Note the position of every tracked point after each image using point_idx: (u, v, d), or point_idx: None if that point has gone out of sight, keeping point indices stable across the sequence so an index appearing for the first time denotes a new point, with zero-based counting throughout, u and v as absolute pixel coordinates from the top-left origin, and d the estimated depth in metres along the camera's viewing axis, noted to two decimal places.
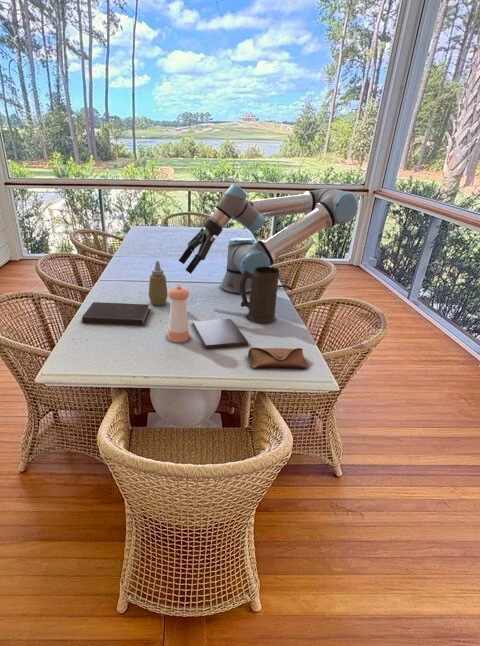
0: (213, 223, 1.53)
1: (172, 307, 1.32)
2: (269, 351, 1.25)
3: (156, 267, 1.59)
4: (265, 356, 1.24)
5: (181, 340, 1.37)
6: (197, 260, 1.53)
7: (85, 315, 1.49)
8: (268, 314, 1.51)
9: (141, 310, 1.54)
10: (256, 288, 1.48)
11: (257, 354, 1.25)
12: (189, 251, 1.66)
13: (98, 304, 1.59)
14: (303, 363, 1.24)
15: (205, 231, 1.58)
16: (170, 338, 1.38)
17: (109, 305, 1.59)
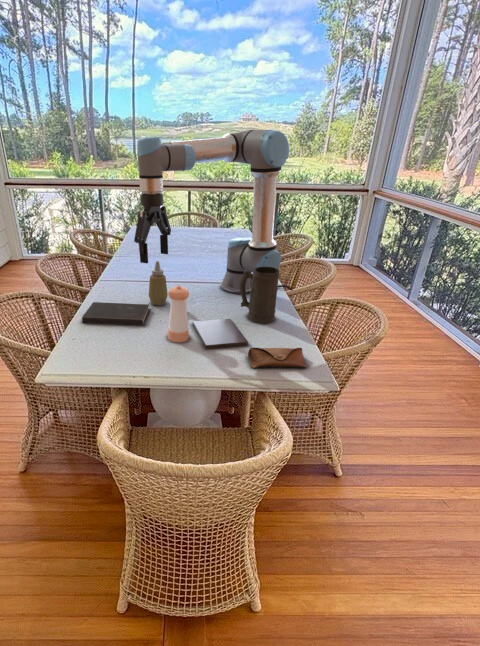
0: (141, 196, 1.26)
1: (172, 307, 1.32)
2: (269, 351, 1.25)
3: (156, 267, 1.59)
4: (265, 356, 1.24)
5: (181, 340, 1.37)
6: (140, 246, 1.29)
7: (85, 315, 1.49)
8: (268, 314, 1.51)
9: (141, 310, 1.54)
10: (257, 288, 1.48)
11: (257, 353, 1.25)
12: (163, 237, 1.41)
13: (98, 304, 1.59)
14: (303, 363, 1.24)
15: None
16: (170, 338, 1.38)
17: (109, 305, 1.59)
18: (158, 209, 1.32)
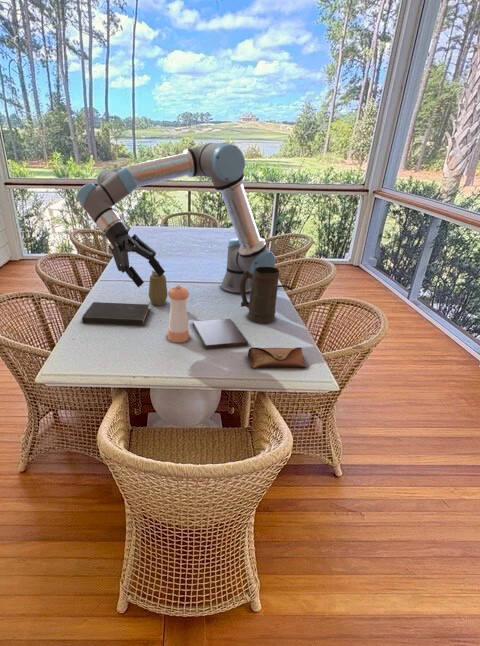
0: (106, 235, 1.31)
1: (172, 307, 1.32)
2: (269, 351, 1.25)
3: None
4: (265, 356, 1.25)
5: (181, 340, 1.37)
6: (127, 271, 1.27)
7: (85, 315, 1.49)
8: (268, 314, 1.51)
9: (141, 310, 1.54)
10: (257, 288, 1.48)
11: (257, 353, 1.25)
12: (151, 261, 1.38)
13: (98, 304, 1.59)
14: (303, 362, 1.24)
15: None
16: (170, 338, 1.38)
17: (109, 305, 1.59)
18: (128, 237, 1.34)
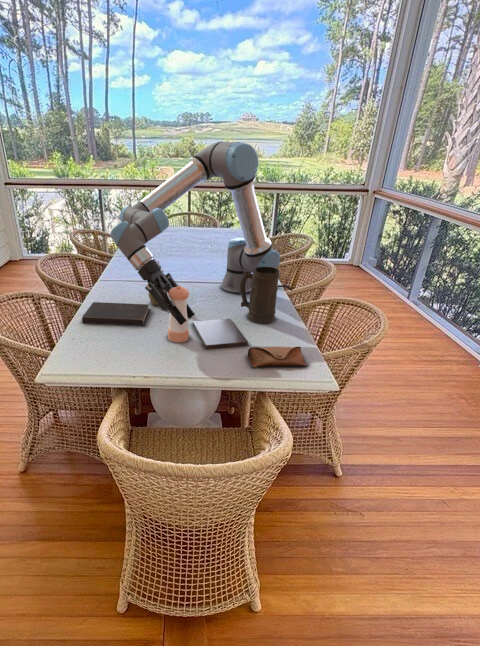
0: (139, 272, 1.31)
1: None
2: (269, 350, 1.25)
3: None
4: (265, 355, 1.25)
5: (181, 340, 1.37)
6: (170, 310, 1.31)
7: (85, 315, 1.49)
8: (268, 314, 1.51)
9: (141, 310, 1.54)
10: (256, 288, 1.48)
11: (257, 353, 1.25)
12: None
13: (98, 304, 1.59)
14: (303, 361, 1.25)
15: None
16: (170, 338, 1.38)
17: (109, 305, 1.59)
18: (161, 274, 1.34)
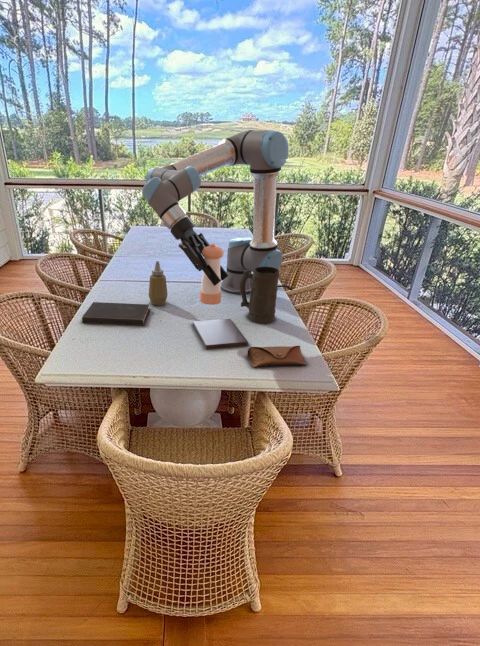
0: (171, 230, 1.27)
1: None
2: (269, 350, 1.25)
3: (156, 267, 1.59)
4: (265, 355, 1.25)
5: (214, 302, 1.32)
6: (204, 270, 1.26)
7: (85, 315, 1.49)
8: (268, 314, 1.51)
9: (141, 310, 1.54)
10: (256, 288, 1.48)
11: (257, 353, 1.26)
12: None
13: (98, 304, 1.59)
14: (302, 360, 1.25)
15: None
16: (202, 300, 1.33)
17: (109, 305, 1.59)
18: (193, 233, 1.30)
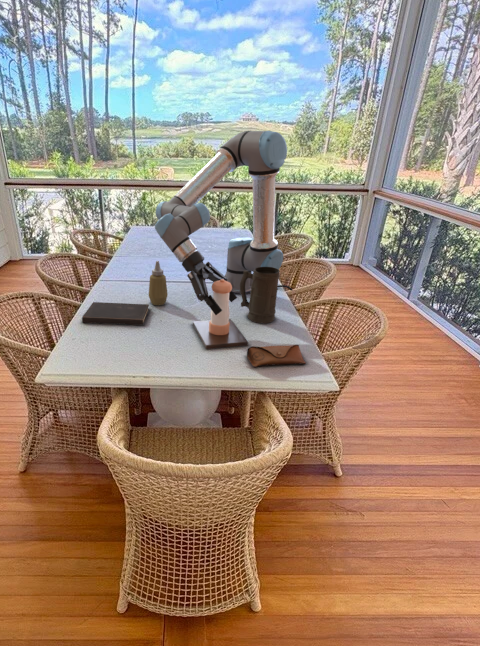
0: (183, 264, 1.33)
1: (215, 300, 1.35)
2: (268, 349, 1.26)
3: (156, 267, 1.59)
4: (265, 354, 1.25)
5: (222, 333, 1.39)
6: (206, 300, 1.30)
7: (85, 315, 1.49)
8: (268, 314, 1.51)
9: (141, 310, 1.54)
10: (257, 288, 1.48)
11: (257, 352, 1.26)
12: None
13: (98, 304, 1.59)
14: (302, 359, 1.26)
15: None
16: (211, 331, 1.40)
17: (109, 305, 1.59)
18: (204, 265, 1.36)
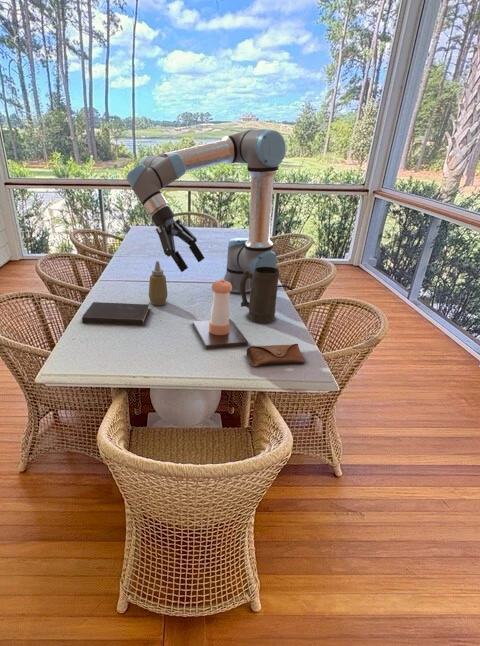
0: (152, 218, 1.33)
1: (215, 300, 1.35)
2: (268, 348, 1.26)
3: (156, 267, 1.59)
4: (265, 354, 1.26)
5: (222, 333, 1.39)
6: (172, 256, 1.31)
7: (85, 315, 1.49)
8: (268, 314, 1.51)
9: (141, 310, 1.54)
10: (256, 288, 1.48)
11: (257, 352, 1.26)
12: (192, 246, 1.42)
13: (98, 304, 1.59)
14: (301, 358, 1.26)
15: None
16: (211, 331, 1.40)
17: (109, 305, 1.59)
18: (173, 222, 1.36)
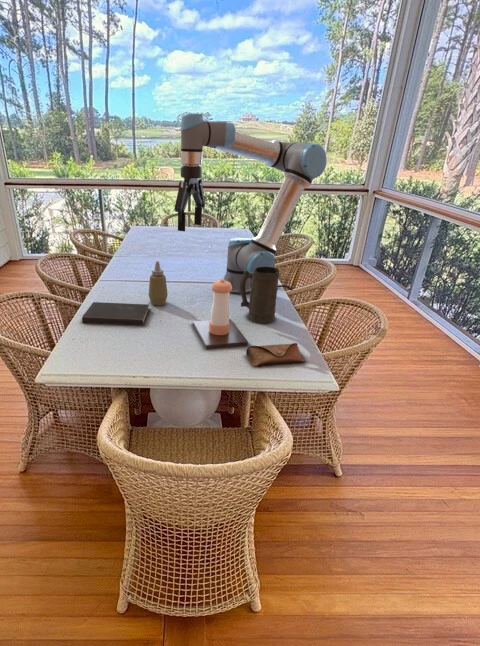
0: (182, 168, 1.38)
1: (215, 300, 1.35)
2: (268, 348, 1.26)
3: (156, 267, 1.59)
4: (265, 353, 1.26)
5: (222, 333, 1.39)
6: (179, 214, 1.41)
7: (85, 315, 1.49)
8: (268, 314, 1.51)
9: (141, 310, 1.54)
10: (257, 288, 1.48)
11: (257, 351, 1.26)
12: (198, 209, 1.52)
13: (98, 304, 1.59)
14: (301, 357, 1.27)
15: None
16: (211, 331, 1.40)
17: (109, 305, 1.59)
18: (196, 181, 1.43)
